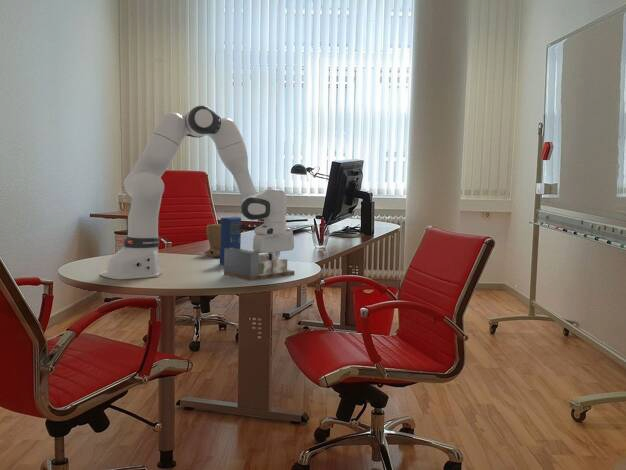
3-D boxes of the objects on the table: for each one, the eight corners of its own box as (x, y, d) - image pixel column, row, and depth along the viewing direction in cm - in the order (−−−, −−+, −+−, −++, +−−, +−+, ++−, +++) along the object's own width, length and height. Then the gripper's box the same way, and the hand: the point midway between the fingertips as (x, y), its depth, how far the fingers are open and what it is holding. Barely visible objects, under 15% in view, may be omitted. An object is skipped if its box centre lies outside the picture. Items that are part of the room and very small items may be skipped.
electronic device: (228, 265, 276) (229, 218, 273) (218, 264, 278) (219, 217, 276) (241, 263, 284) (242, 217, 282) (231, 261, 286) (232, 216, 284)
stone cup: (213, 252, 313) (213, 221, 311) (235, 254, 309) (236, 223, 307) (197, 256, 298) (198, 223, 297) (220, 258, 294) (221, 225, 293)
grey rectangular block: (250, 277, 242) (251, 253, 241) (223, 271, 252) (224, 248, 251) (258, 275, 245) (258, 252, 244) (231, 270, 255) (232, 247, 254)
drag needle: (271, 260, 250) (271, 254, 249) (268, 259, 250) (269, 253, 250) (272, 260, 250) (272, 254, 250) (270, 259, 251) (270, 253, 251)
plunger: (271, 272, 251) (271, 257, 250) (250, 268, 259) (250, 253, 258) (282, 271, 255) (282, 255, 255) (261, 267, 263) (261, 252, 262)
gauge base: (250, 280, 242) (250, 263, 241) (223, 275, 252) (224, 258, 251) (294, 274, 260) (294, 258, 259) (268, 269, 270) (268, 253, 269)
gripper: (287, 226, 270) (285, 259, 272) (251, 229, 255) (249, 263, 256) (298, 228, 266) (296, 261, 267) (262, 230, 251) (261, 266, 252)
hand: (273, 262), depth 262 cm, fingers closed
